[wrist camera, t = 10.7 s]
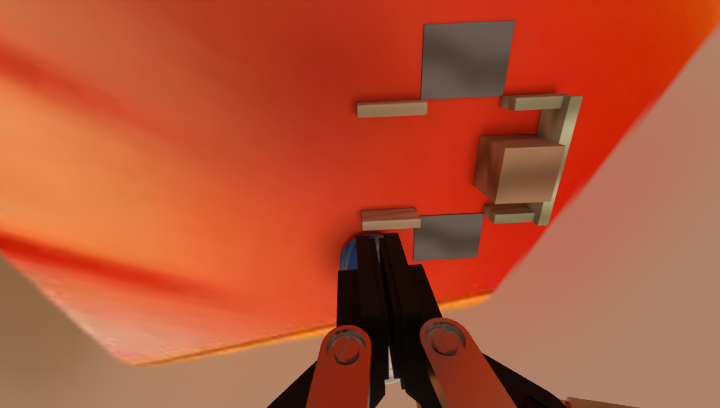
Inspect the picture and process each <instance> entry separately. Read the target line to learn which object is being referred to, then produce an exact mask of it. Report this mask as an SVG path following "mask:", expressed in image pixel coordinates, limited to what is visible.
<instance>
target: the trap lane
mask: <svg viewBox="0 0 720 408" xmlns="http://www.w3.org/2000/svg"><path fill="white" fill-rule="evenodd" d="M514 24H515V21H493V22H469V23H446V24H424V35H423V57H422V78H421V100H402V101H380V102H359V103H357V116H358V118H368V117H389V116H410V115H427V102H425V101H423V100H427V99H449V98H470V97H492V96H502V99H501V105H500V107H501V108H505V109H510V110H514V111H515V110H537V109H542V110H541V115H540V119H539V124H538V129H537V133H536V136H538V137H541V138H544V139H547V140H550V141H553V142H556V143H559V144H562V145H565V146H566V148H565V151H564V155H563V159H562V162H561V166H560V170H559V173H558V177H557V180H556V184H555V188H554V191H553V195H552V198H551V202H531V203H508V204H485V205H484V211H483V213H467V214H448V215H429V216H419V214H418V212H417V210H416V208H406V209H386V210H367V211H361V213H362V228H363V231H365V230H384V229H403V228H415V229H414V251H413V261H422V260H441V259H459V258H477V253H478V247H479V241H480V235H481V228H482V222H483V216H484V214H485V215H486V216H487V217H488V218H489V219H490V220H491V221H492V222H493V223H494V224H498V223H517V222H534V223H535V224H536V225H538V226H541V225H548V222H549V219H550V215H551V211H552V208H553V204H554V200H555V197H556V193H557V189H558V186H559V182H560V178H561V175H562V171H563V167H564V164H565V160H566V156H567V153H568V149H569V145H570V142H571V138H572V134H573V131H574V127H575V124H576V120H577V116H578V113H579V109H580V105H581V102H582V98H583V96H577V95H568V94H558V93H552V94H531V95H509V96H503V92H504V86H505V80H506V73H507V67H508V61H509V55H510V48H511V42H512V36H513V30H514Z"/></svg>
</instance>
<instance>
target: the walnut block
mask: <svg viewBox="0 0 720 408" xmlns="http://www.w3.org/2000/svg"><path fill="white" fill-rule="evenodd" d="M565 148H566V146H565V145H562V144H559V143H556V142H553V141H550V140H547V139H544V138H541V137H538V136H535V135H532V134H520V135H494V136H480V140H479V146H478V153H477V160H476V167H475V174H474V181H473V185H474V186H475V187H477V188H478V189H479V190H480V191H481V192H482V193H483V194H484V195H486V196H487V197H488V198H489V199H490V200H491V201H492V202H493V203H494V204H508V203H531V202H551V198H552V195H553V191H554V188H555V184H556V180H557V177H558V173H559V170H560V166H561V162H562V159H563V155H564V151H565Z"/></svg>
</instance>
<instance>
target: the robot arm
mask: <svg viewBox="0 0 720 408" xmlns="http://www.w3.org/2000/svg"><path fill="white" fill-rule="evenodd" d="M356 249H357V264H358V269H352V270H339V271H338V293H337V328H334V329H333V330H331V331H330V332H329V333H328V334H327V335H326V336H325V337H324V339H323V341H322V344H321V348H320V352H319V356H318V360H317V361H316V362H315V363H314V364H313V365H311V367H310V368H308V369H307V370H306V371H305V372H304V373H303V374H302V375H301V376H300V377H299V378H298V379H297V380H296V381H294V382H293V383H292V384H291V385H290V386H289V387H288V388H287V389H286V390H285V391H284V392H283V393H282V394H281V395H280V396H279V397H278V398H276V399H275V400H274V401H273V402H272V403H271V404H270V405H269V406H268V407H267V408H375V407H376V406H377V405H378V403H379V402H380V401H381V399H382V398H383V396H384V395H385V380H389V351H390V357H391V364H392V370H393V376H394V379H400V382H401V387H402V389H405V391H406V393H407V394H408V395H409V396H411V397H412V398H413V399H414V400H416V404H417V408H638V407H631V406H625V405H618V404H611V403H605V402H598V401H591V400H585V399H578V398H572V397H567V399H566V401H565V400H559V399H558V398H557V397H555V396H554V395H553V394H551V393H550V392H548V391H547V390H545V389H543V388H542V387H540V386H538V385H536V384H535V383H533V382H531V381H530V380H528V379H526V378H524V377H523V376H521V375H519V374H518V373H516V372H514V371H512V370H511V369H509V368H507V367H506V366H504V365H502V364H500V363H499V362H497V361H495V360H494V359H492V358H490V357H488V356H487V355H485V354H483V353H482V352H481V351H480V349H479V348H478V346H477V345H476V343H475V342H474V340H473V339H472V337H471V335H470V334H469V332H468V331H467V330H466V329H465V328H464V327H463V326H462V325H461V324H459V323H458V322H456V321H453V320H451V319H448V318H442V315H441V313H440V310H439V307H438V305H437V302H436V300H435V297H434V295H433V292H432V289H431V287H430V284H429V282H428V279H427V276H426V274H425V271H424V269H423V266H422V265H421V264H417V265H408V263H407V260H406V257H405V254H404V251H403V247H402V244H401V241H400V238H399V235H398V233H388V234H384V237H383V238H379V259H378V254H377V248H376V242H375V238H370V237H369V235H361V236H356ZM379 263H380V265H379Z"/></svg>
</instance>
